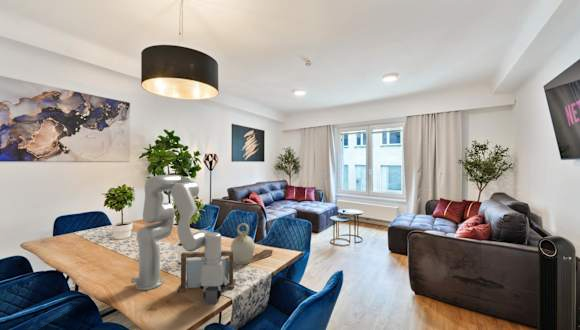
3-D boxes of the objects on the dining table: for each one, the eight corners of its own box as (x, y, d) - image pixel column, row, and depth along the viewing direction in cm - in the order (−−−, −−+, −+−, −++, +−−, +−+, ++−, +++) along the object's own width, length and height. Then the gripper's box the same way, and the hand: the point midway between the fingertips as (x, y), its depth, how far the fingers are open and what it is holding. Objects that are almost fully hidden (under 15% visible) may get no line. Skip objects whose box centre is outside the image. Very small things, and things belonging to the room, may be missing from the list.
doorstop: (205, 304, 105) (205, 291, 105) (212, 287, 119) (212, 275, 119) (216, 303, 105) (216, 290, 105) (221, 286, 120) (222, 275, 120)
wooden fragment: (266, 248, 176) (266, 247, 176) (278, 251, 170) (278, 250, 170) (243, 260, 154) (243, 259, 154) (256, 264, 148) (256, 263, 148)
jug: (236, 255, 162) (237, 220, 162) (257, 257, 159) (257, 221, 159) (226, 264, 147) (226, 225, 147) (249, 266, 144) (249, 226, 144)
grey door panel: (186, 288, 118) (186, 260, 118) (186, 286, 119) (187, 259, 119) (228, 285, 121) (228, 258, 121) (228, 284, 122) (228, 257, 122)
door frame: (176, 292, 114) (176, 256, 114) (182, 284, 122) (182, 250, 122) (234, 288, 118) (234, 253, 118) (235, 281, 126) (235, 248, 126)
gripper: (191, 264, 103) (191, 304, 103) (230, 262, 106) (229, 301, 106) (196, 257, 111) (195, 295, 111) (232, 255, 113) (231, 292, 113)
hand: (212, 297), depth 108 cm, fingers closed on doorstop, 5 cm apart
